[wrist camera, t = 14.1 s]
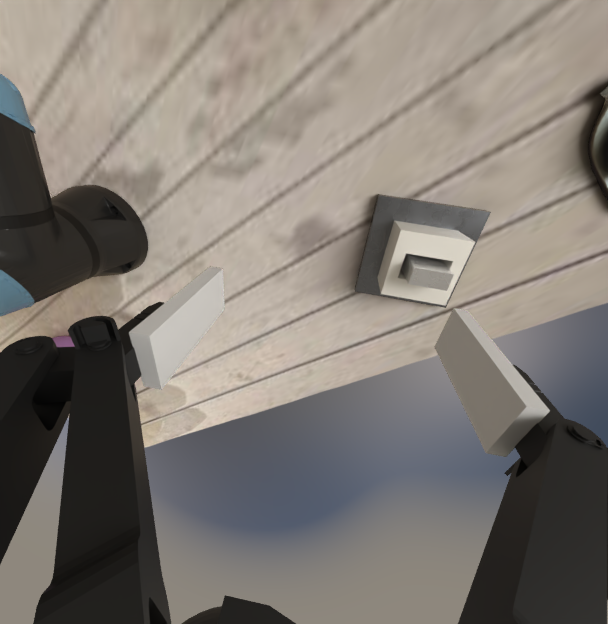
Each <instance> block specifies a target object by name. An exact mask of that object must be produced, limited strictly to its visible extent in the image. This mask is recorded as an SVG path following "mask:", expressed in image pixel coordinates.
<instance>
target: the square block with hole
mask: <svg viewBox="0 0 608 624" xmlns="http://www.w3.org/2000/svg"><path fill="white" fill-rule="evenodd" d="M474 244H475V241H473V240H472V239H470V238H469V237H467V236H466V235H464V234H462V233H461V232H459V231H457V230H451V229H445V228H438V227H432V226H426V225H420V224H413V223H407V222H401V221H395V220H394V223H393V226H392V230H391V233H390V236H389V240H388V243H387V247H386V250H385V253H384V257H383V260H382V264H381V267H380V270H379V274H378V277H377V278H378V283H379V287H380V292H381V294H384V295H390V296H395V297H401V298H406V299H412V300H417V301H423V302H428V303H434V304H439V305H445V306H446V303H447V301H448V299H449V297H450V295H451V293H452V291H453V289H454V286H455V284H456V282H457V280H458V278H459V276H460V274H461V272H462V270H463V267H464V265H465V263H466V261H467V259H468V257H469V255H470V253H471V250H472V248H473V246H474ZM406 253H407V254H413V255H419V256H425V257H431V258H437V259H441V260H442V261H443V263H444V264H445V265H446V266H447V267H448V268H449V269H450V270H451V271H452V273H453V274H454V276H453V278H452V280H451V283H450V285H449V287H448V289H447V291H445V290H439V289H433V288H427V287H422V286H416V285H410V284H408V282H407V280H406V278H405V276H404V274H403V271H402V269H401V267H402V264H403V261H404V258H405V255H406Z"/></svg>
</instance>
